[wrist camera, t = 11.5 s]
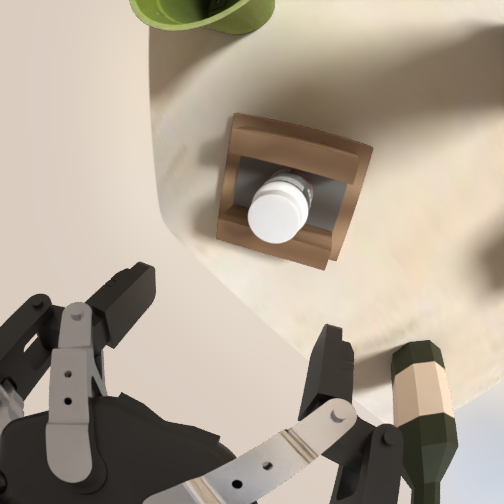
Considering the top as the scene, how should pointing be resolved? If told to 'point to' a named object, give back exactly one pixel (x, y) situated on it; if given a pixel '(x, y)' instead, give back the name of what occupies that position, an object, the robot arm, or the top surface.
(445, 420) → the wine bottle
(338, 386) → the robot arm
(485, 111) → the top surface
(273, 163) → the cradle
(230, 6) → the plant pot
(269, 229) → the pill bottle
